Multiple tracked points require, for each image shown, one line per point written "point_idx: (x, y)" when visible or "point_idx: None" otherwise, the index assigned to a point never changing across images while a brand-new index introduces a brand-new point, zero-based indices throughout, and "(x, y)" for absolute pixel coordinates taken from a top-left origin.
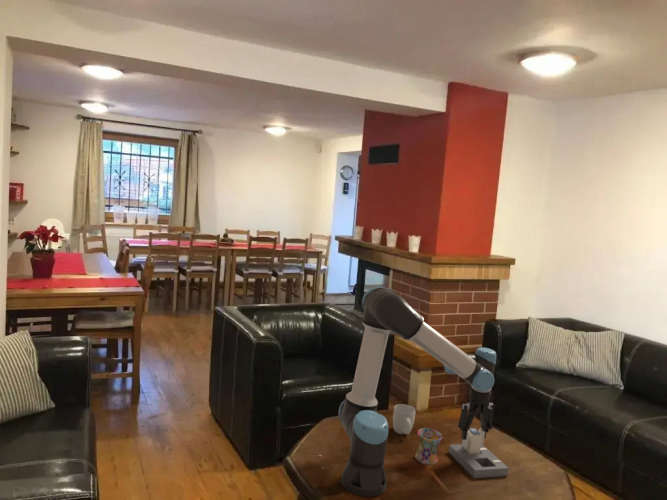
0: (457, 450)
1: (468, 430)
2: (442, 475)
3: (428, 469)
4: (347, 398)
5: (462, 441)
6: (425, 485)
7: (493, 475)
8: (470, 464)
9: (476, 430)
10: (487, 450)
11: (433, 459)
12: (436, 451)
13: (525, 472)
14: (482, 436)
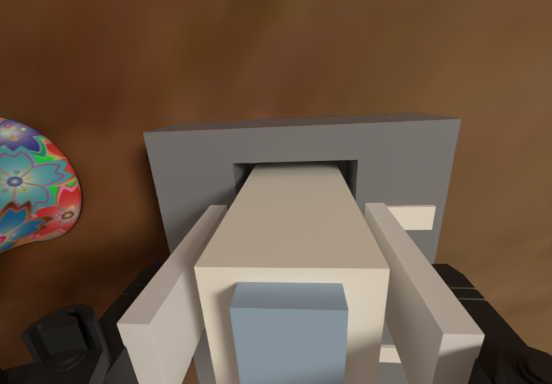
0: (177, 217)
1: (230, 279)
2: (92, 295)
3: (36, 250)
4: None
5: (197, 225)
6: (14, 337)
7: None
8: (198, 352)
9: (330, 371)
10: (426, 234)
11: (28, 242)
12: (3, 246)
13: (538, 324)
14: (395, 345)
